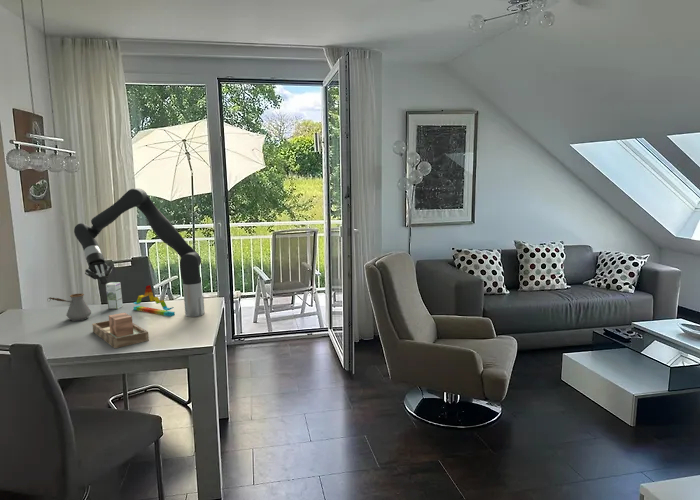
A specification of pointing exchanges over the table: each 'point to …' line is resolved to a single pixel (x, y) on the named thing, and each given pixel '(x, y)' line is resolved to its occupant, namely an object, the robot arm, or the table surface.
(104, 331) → the trough
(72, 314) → the coffee pot
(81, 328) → the table surface
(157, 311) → the multicoloured triangular frame
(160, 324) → the table surface
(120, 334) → the block
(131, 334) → the pad
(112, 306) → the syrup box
